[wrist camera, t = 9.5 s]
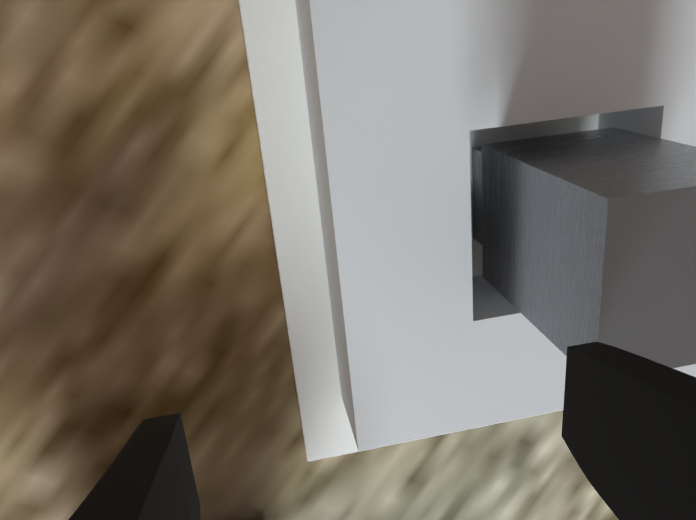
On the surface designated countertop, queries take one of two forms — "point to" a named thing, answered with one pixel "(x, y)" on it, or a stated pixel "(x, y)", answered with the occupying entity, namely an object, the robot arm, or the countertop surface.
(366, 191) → the bracket board
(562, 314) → the grey tall block
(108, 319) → the countertop surface
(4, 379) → the countertop surface
